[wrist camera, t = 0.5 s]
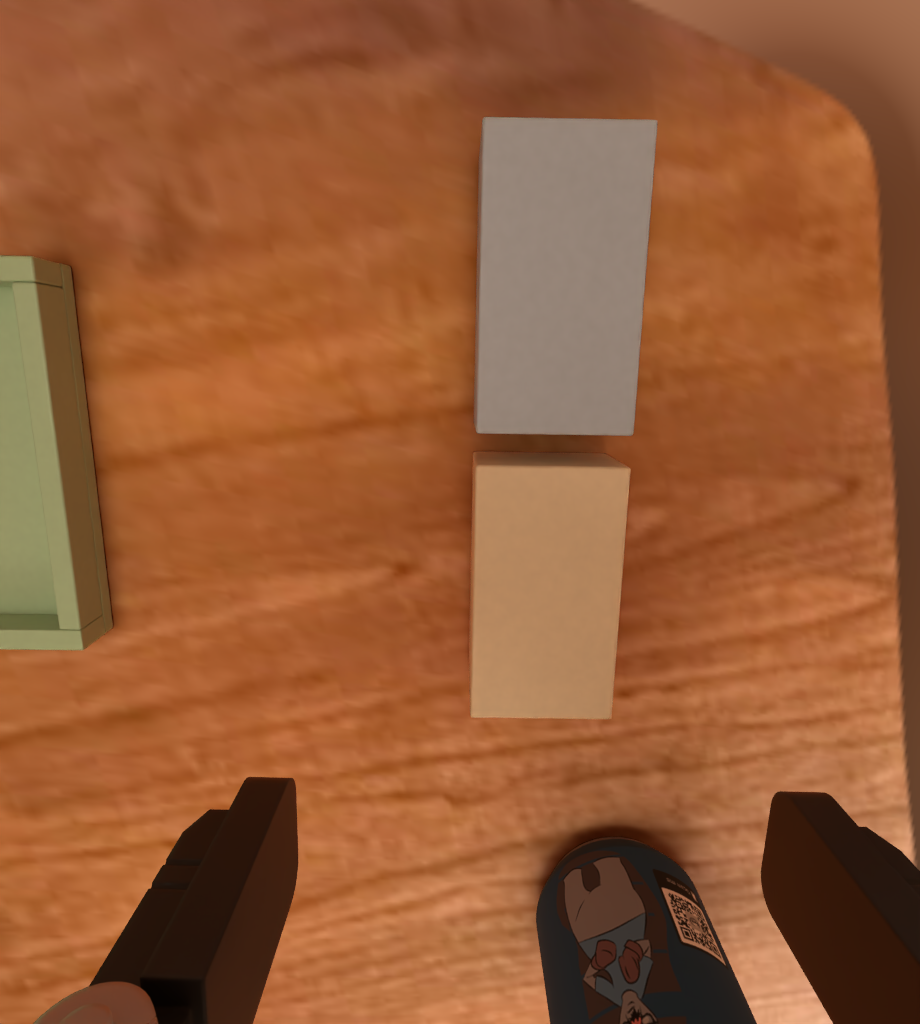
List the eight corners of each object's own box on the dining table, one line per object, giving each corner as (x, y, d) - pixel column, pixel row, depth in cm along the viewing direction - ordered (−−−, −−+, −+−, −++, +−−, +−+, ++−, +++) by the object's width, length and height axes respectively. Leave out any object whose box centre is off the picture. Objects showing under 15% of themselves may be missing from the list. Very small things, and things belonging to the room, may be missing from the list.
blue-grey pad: (478, 156, 21) (482, 115, 18) (626, 159, 21) (658, 118, 18) (473, 424, 23) (475, 433, 20) (608, 425, 23) (634, 436, 20)
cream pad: (473, 451, 23) (475, 465, 20) (606, 453, 23) (631, 467, 20) (468, 671, 25) (469, 718, 22) (591, 672, 25) (612, 720, 22)
